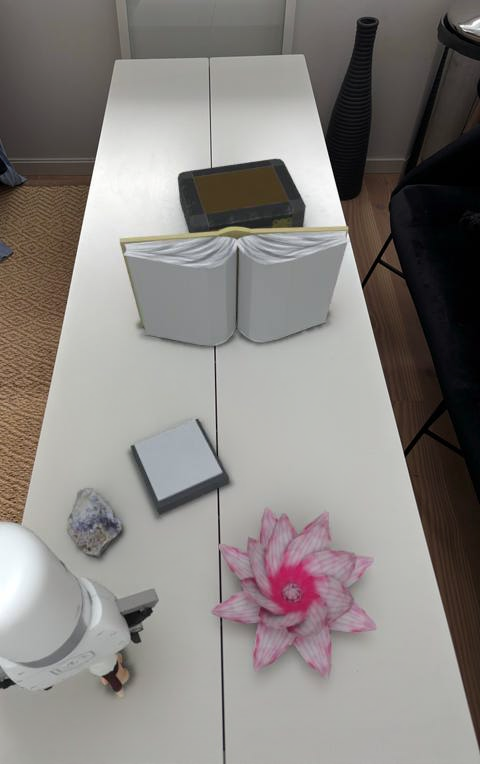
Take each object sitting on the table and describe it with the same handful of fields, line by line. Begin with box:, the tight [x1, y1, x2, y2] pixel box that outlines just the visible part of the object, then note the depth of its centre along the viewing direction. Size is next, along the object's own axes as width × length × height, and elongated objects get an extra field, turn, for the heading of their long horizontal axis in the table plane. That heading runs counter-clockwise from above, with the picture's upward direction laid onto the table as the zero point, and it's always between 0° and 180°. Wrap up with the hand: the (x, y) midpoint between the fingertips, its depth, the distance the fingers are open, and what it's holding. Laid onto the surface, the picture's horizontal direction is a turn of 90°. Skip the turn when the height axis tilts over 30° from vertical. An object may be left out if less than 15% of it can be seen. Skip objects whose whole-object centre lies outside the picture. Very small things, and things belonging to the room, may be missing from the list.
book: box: [119, 225, 350, 347], centre depth 96 cm, size 36×8×24 cm, turn 95°
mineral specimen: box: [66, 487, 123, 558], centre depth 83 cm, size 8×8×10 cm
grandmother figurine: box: [87, 652, 131, 699], centre depth 67 cm, size 8×4×13 cm, turn 40°
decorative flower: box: [210, 505, 378, 679], centre depth 72 cm, size 21×21×15 cm
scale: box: [130, 418, 230, 516], centre depth 88 cm, size 12×12×3 cm
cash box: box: [177, 158, 307, 233], centre depth 123 cm, size 25×20×8 cm
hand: (91, 651), depth 58 cm, fingers open, 9 cm apart
